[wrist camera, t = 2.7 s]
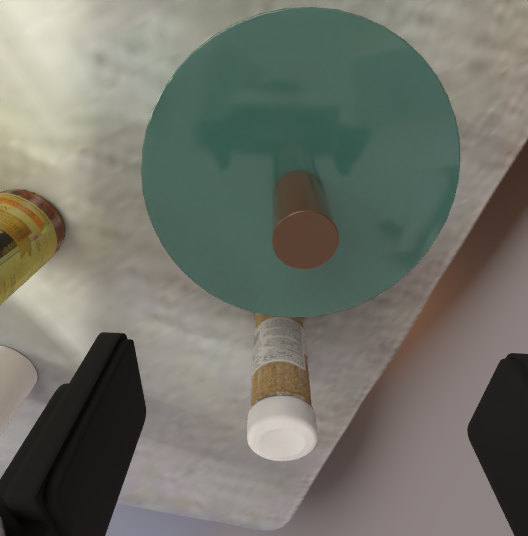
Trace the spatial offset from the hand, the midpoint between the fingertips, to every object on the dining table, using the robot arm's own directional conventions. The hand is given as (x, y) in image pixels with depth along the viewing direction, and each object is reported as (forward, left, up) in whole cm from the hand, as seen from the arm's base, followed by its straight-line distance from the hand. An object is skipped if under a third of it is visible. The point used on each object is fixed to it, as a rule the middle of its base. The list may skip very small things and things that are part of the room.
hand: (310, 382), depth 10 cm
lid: (-1, +1, -12) cm, 12 cm away
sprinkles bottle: (+13, -5, -22) cm, 26 cm away
